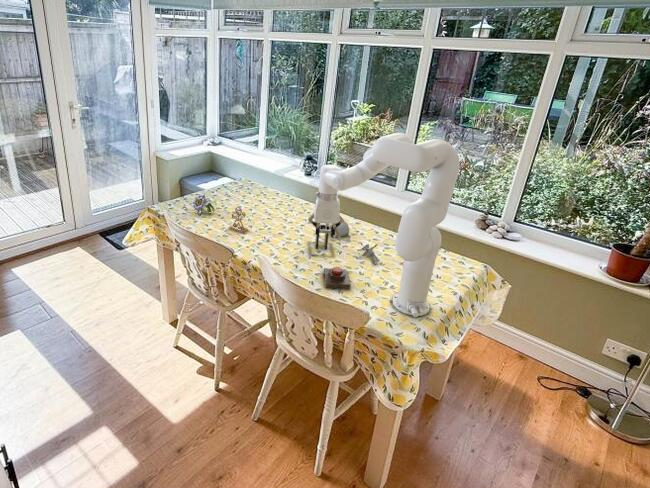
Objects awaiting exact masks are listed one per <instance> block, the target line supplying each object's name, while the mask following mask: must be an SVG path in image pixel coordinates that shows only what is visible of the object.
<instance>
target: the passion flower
mask: <svg viewBox="0 0 650 488" xmlns="http://www.w3.org/2000/svg"><path fill="white" fill-rule="evenodd" d="M206 197H207V194H206V193H203V194H201V195H198V196H196V197H195V198H194V200H193V201H192V203H191V204H190V206H191V207H192V206H193V208H194V211H195V210H197V211H195V214H202V212H203V209H204V210H206V209H207V213H208V214H209V215H212V213H213V212H215V207H214V206H213V205H212V203H214V204H215V206H217V205H218V204H217V201H216V200H213V201H212V202H209V201H210V198H206ZM209 212H211V213H209Z"/></svg>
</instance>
